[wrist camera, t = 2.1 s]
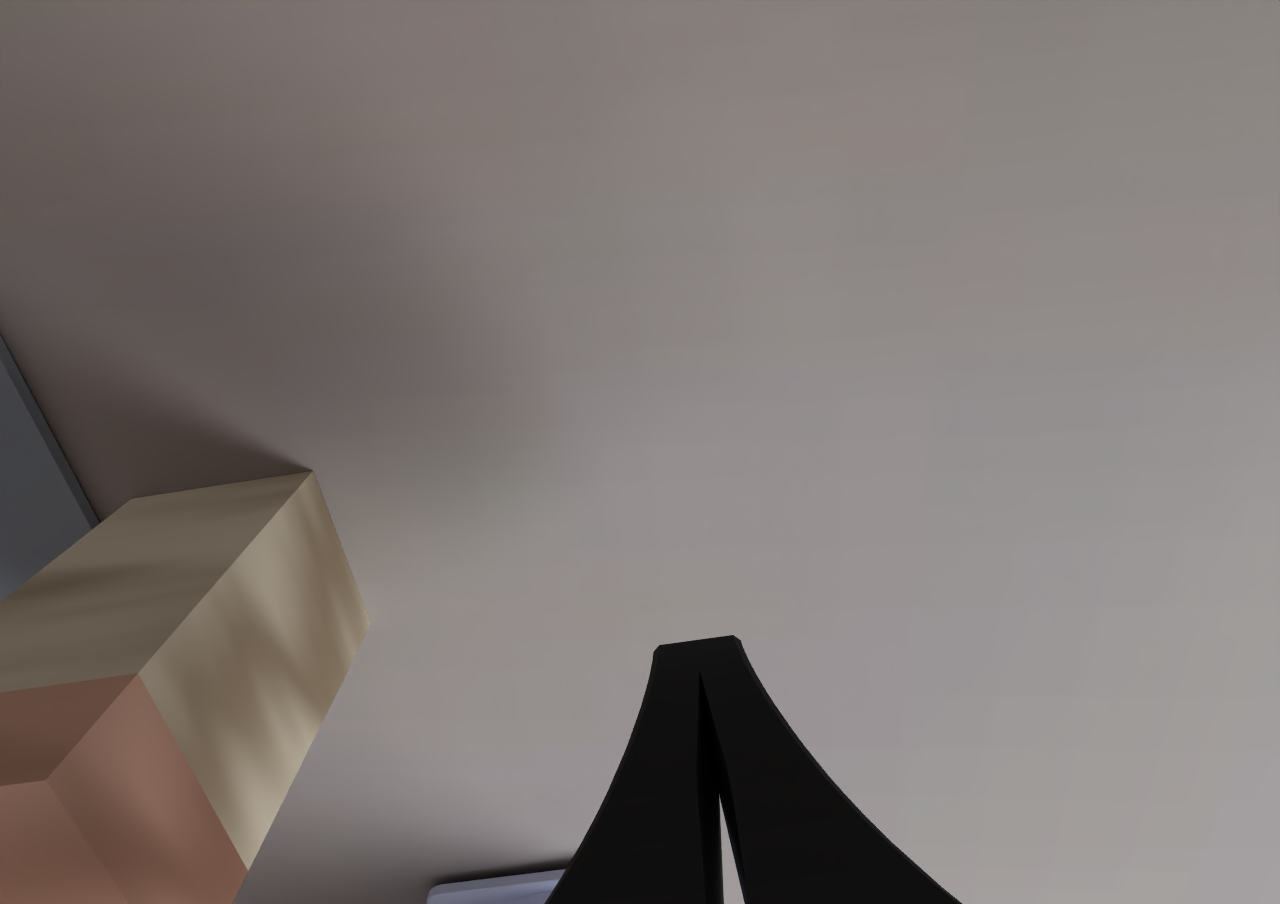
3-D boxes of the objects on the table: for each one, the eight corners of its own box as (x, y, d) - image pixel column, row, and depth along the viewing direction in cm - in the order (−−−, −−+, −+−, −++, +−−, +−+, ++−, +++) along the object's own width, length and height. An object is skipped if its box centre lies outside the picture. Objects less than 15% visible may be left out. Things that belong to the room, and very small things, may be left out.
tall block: (370, 623, 20) (188, 991, 12) (205, 647, 20) (-89, 1024, 12) (313, 470, 18) (45, 780, 10) (131, 498, 18) (-280, 823, 10)
